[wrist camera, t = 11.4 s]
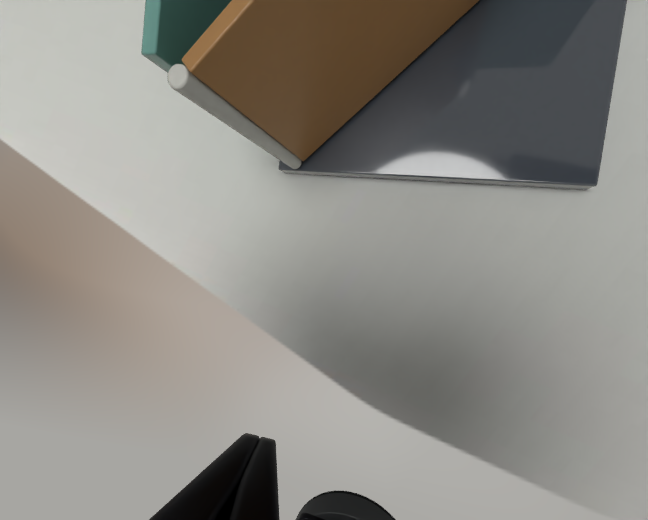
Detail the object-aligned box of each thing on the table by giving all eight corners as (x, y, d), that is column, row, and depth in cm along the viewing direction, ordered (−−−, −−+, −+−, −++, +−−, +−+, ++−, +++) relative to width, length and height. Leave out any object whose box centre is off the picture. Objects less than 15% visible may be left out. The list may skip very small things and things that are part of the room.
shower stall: (587, 190, 16) (933, 57, 5) (284, 173, 21) (137, 86, 10) (626, -55, 16) (1112, -780, 5) (304, -14, 21) (171, -324, 10)
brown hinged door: (507, 4, 16) (635, -364, 7) (304, 185, 19) (192, 118, 10) (483, -20, 16) (572, -406, 7) (287, 162, 20) (161, 76, 10)
